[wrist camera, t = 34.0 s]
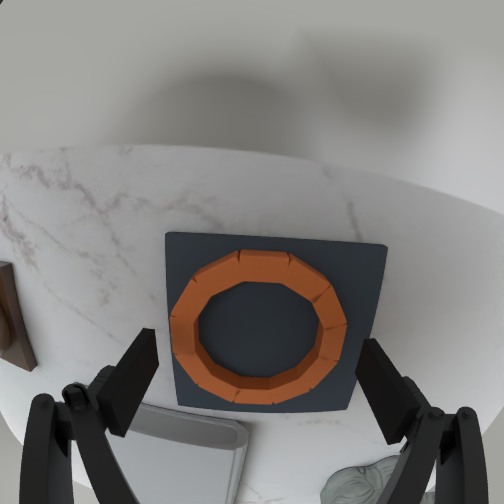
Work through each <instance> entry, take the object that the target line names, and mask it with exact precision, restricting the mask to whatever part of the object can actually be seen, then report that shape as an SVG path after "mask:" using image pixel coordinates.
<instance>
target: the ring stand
mask: <svg viewBox="0 0 504 504" xmlns="http://www.w3.org/2000/svg"><path fill="white" fill-rule="evenodd" d="M0 358H2V359H4V360H6V361H8V362H10V363H12V364H14V365H16V366H18V367H21V368H23V369H25V370H27V371H29V372H31V371H32V370H33V369H34V368H35V367H36V366H37V364H36V361H35V358H34V355H33V352H32V349H31V346H30V343H29V340H28V337H27V334H26V330H25V327H24V323H23V319H22V316H21V312H20V308H19V303H18V299H17V294H16V289H15V284H14V279H13V273H12V267H11V263H7V262H1V261H0Z"/></svg>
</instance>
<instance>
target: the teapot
mask: <svg viewBox="0 0 504 504" xmlns="http://www.w3.org/2000/svg"><path fill="white" fill-rule="evenodd" d="M398 459H399V456H392V457H388V458H385V459H383V460H381V461H379V462H377V463H376V464H374V465H371V466H368V467H364V468H360V467H354V468H348V469H344V470H341V471H339V472H337V473H335V474H334V475H333V476H332V477H330V478H329V480H328V482H327V484H326V487H325V488H324V489H323V491H322V492H321V494H320V499H321V504H376V502H377V500H378V499H379V497H380V495H381V493H382V491H383V490H384V488H385V486H386V484H387V482H388V480H389V478H390V476H391V474H392V472H393V470H394V468H395V465H396V463H397V461H398ZM434 500H435V492H425V493H424V495H423V498H422V500H421V503H420V504H434Z"/></svg>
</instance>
